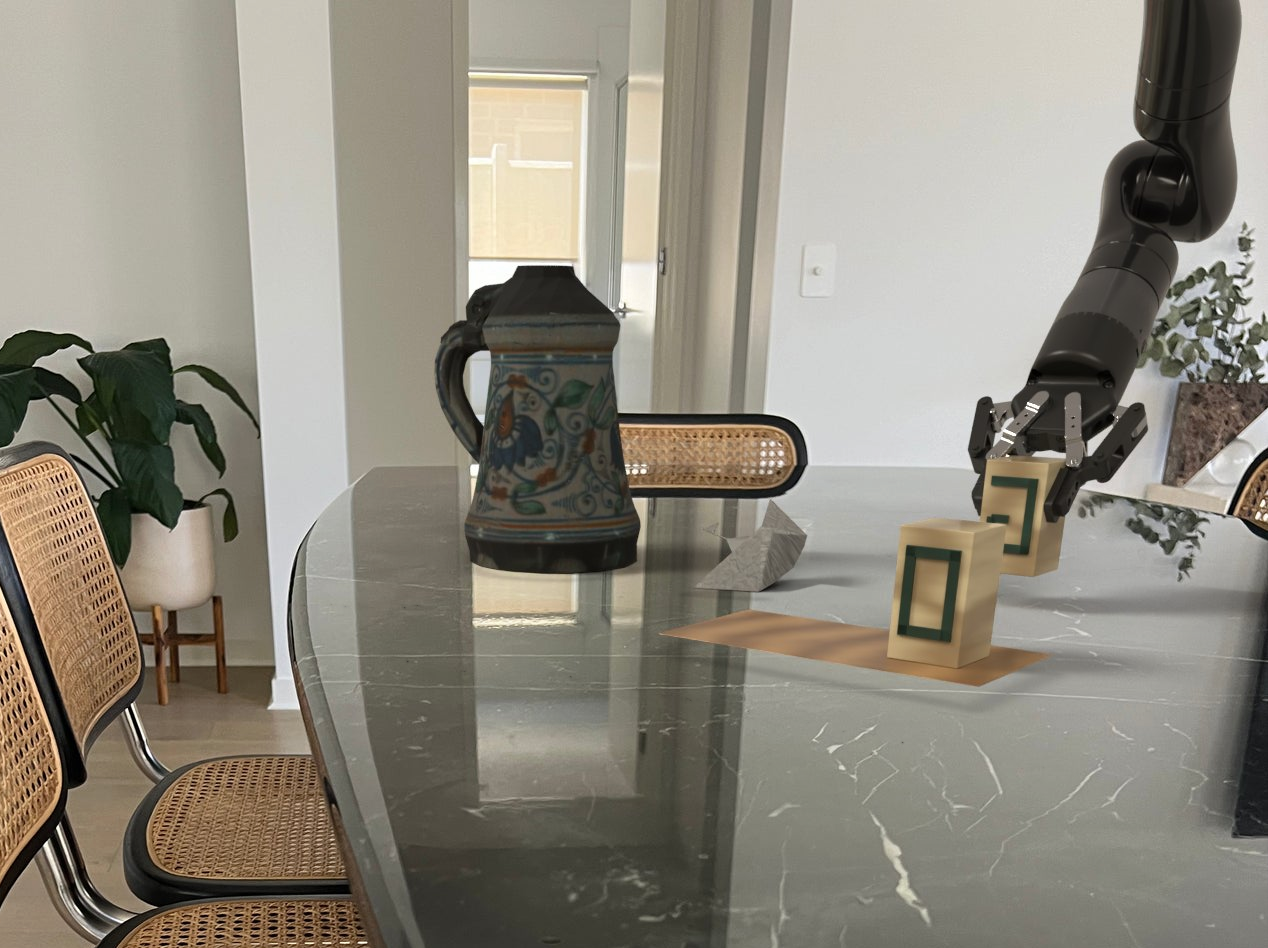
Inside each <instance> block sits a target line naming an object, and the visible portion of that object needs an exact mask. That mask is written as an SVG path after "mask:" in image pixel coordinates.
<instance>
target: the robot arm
mask: <svg viewBox="0 0 1268 948" xmlns="http://www.w3.org/2000/svg"><path fill="white" fill-rule="evenodd" d="M1242 16H1243V15H1242V6H1241V1H1240V0H1143V16H1142V30H1141V41H1140V47H1139V55H1138V64H1137V73H1136V79H1135V80H1136V81H1135V89H1134V97H1133V106H1132V120H1133V126H1134V129H1135V131H1136V132H1137V134H1138V135H1139V136H1140V138H1142V139H1139V140H1134V141H1132V142H1130V143H1128V144H1127V145H1126V146H1124V147H1123V148H1121V149H1120V150H1119V151H1118V152H1117V153H1116V154H1115V155H1114V156H1113V157H1112V159H1111V160H1110V162H1109V164H1108V166H1107V168H1106V170H1105V173H1104V177H1103V180H1102V186H1101V192H1100V201H1099V213H1098V224H1097V228H1096V232H1095V233H1096V234H1095V238H1094V241H1093V244H1092V247H1091V250H1090V252H1089V255H1088V257H1087V258H1086V261H1085V263H1084V265H1083V267H1082V269H1081V272H1080V274H1079V276H1078V278H1077V280H1076V282H1075V284H1074V286H1073V287H1072V289H1071V291H1070V292H1069V293H1068V294H1067V296H1066V298H1065V299H1064V300H1063V302H1062V305H1061V306H1060V308H1059V310H1058V312H1057V314H1056V316H1055V318H1054V320H1053V322H1052V324H1051V327H1050V329H1049V330H1048V333H1047V334H1046V337H1045V339H1044V341H1043V342H1042V345H1041V347H1040V348H1039V352H1038V353H1037V355H1036V357H1035V359H1034V361H1033V363H1032V365H1031V368H1030V370H1029V373H1028V376H1027V379H1026V382H1025V385H1024V386H1023V388H1022V389H1021V390H1020V391H1019V392H1018V393H1016V394H1015V395H1014V396H1013V397H1012V400H1009V401H1002V402H995V403H994V402H993V398H992V397H991V396H988V395H986V396H982V397H980V398H979V399H978V400H977V401H976V402H977V403H976V407H975V411H974V416H973V422H972V426H971V431H970V436H969V441H968V445H967V452H968V456H969V459H970V462H971V465H972V469H973V472H974V473H975V474H977V475H979V476H978V478H977V480H976V482H975V484H974V486H973V488H972V490H971V500H972V504H973V506H974V509H975V510H976V513H977V516H978V517H980V516H981V508H982V499H983V491H984V482H985V474H986V465H987V460H988V459H994V458H1000V457H1006V456H1012V455H1017V456H1034V455H1035V453H1037V452H1038V453H1040V452H1047V451H1052V452H1055V453H1058V454H1065V458H1066V467H1065V468H1060V470H1059V472H1058V474H1057V476H1056V479H1055V481H1054V483H1053V485H1052V487H1051V489H1050V491H1049V493H1048V496H1047V498H1046V500H1045V502H1044V505H1043V510H1044V514H1045V518H1046V521H1047V522H1048V523H1057V522H1058V520H1059V518H1060V517H1064V516H1065V517H1066V515H1067V514H1068V513H1069V512H1070V510H1071V509H1072V506H1073V504H1074V502H1075V500H1076V497H1077V495H1078V493H1079V491H1080V489H1081V487H1084V486H1085V485H1086V484H1087V483H1089V482H1090V481H1096V482H1097V483H1099V484H1106V483H1108V482H1109V481H1111V480H1112V478H1113V477H1114V476H1115V475H1116V474H1117V472H1118V471H1119V470H1120V468H1121V467H1122V465H1123V464H1124V463H1125V462H1126V461H1127V459H1128V457H1129V456H1130V455H1131V454H1132V453H1133V451H1134V450H1135V449H1136V448H1137V446H1138V445H1139V443H1141V441H1142V439H1143V438H1144V437H1145V436H1146V435H1147V434H1148V431H1149V425H1148V418H1147V412H1146V407H1145V404H1144V403H1143V402H1140V401H1138V402H1134V403H1132V404H1130V405H1129V406H1128V407H1127V406H1123V405H1119V404H1120V403H1121V401H1122V399H1123V397H1124V394H1125V392H1126V389H1127V387H1128V386H1129V383H1130V382H1131V379H1132V377H1133V375H1134V372H1135V370H1136V369H1137V366H1138V364H1139V361H1140V359H1141V357H1142V356H1144V354H1145V351H1146V349H1147V347H1148V343H1149V340H1150V337H1151V335H1152V331H1153V328H1154V324H1155V321H1156V318H1157V315H1158V313H1159V312H1160V309H1161V307H1162V305H1163V302H1164V300H1165V298H1166V296H1167V294H1168V293H1169V290H1170V288H1171V286H1172V284H1173V281H1174V279H1175V276H1176V273H1177V271H1178V267H1179V261H1180V257H1179V256H1180V255H1179V250H1178V247H1177V245H1176V243H1175V242H1177V243H1184V244H1197V243H1201V242H1204V241H1206V240H1209V239H1210V238H1211V237H1212V236H1214V235H1215V234H1216V233H1217V232H1219V230H1221V228H1222V227H1223V226H1224V225H1225V223H1226V222H1227V220H1228V218H1229V217H1230V215H1231V212H1232V210H1233V208H1234V204H1235V201H1236V197H1237V191H1238V180H1239V179H1238V177H1239V176H1238V175H1239V174H1238V161H1237V155H1236V148H1235V144H1234V137H1233V131H1232V123H1231V122H1232V121H1231V110H1230V109H1231V107H1230V105H1231V104H1230V103H1231V95H1232V88H1233V84H1234V78H1235V73H1236V67H1237V61H1238V56H1239V50H1240V45H1241V37H1242V29H1243V21H1242V20H1243V17H1242ZM1012 418H1013V420H1012V421H1011V422H1010V423H1009V424H1008V425H1007V426H1006V427H1005V429H1004V430H1003V432H1002V428H1003V427H1004V425H1005V424H1006V422H1007V421H1008V420H1009V419H1012ZM1111 426H1112V428H1111V430H1110V431H1108V432H1107V435H1106V436H1105V437H1104V438H1103V439H1102V441H1101V442H1100V444H1099V445H1098V446H1097V447H1096V448H1095V450H1094V451H1093V452H1092V454H1091V455H1089V441H1091V440H1092V439H1094V438H1095V437H1096V436H1098V435H1099V434H1101V433H1102V432H1104V430H1106V429H1108V428H1109V427H1111ZM1001 432H1002V436H1001V438H1000V439H999V440H998V442H996V444H994V443H995V438H996V434H1000V433H1001Z"/></svg>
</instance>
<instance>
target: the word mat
mask: <svg viewBox="0 0 1268 948" xmlns="http://www.w3.org/2000/svg"><path fill="white" fill-rule="evenodd" d="M889 633H890V629H883V628H877V627H870V626H863V625H857V624H849V623H844V622H837V621H829V620H823V619H816V618H810V617H803V616H796V615H790V614H784V613H783V614H782V613H775V612H768V611H761V610H755V609H744V610H740V611H737V612H733V613H729V614H726V615H722V616H719V617H715V618H711V619H707V620H703V621H699V622H695V623H692V624H688V625H685V626H681V627H677V628H673V629H669V630H665V631H661V632H659V633H658V634H659V635H662V636H663V635H664V636H670V637H677V638H682V639H687V640H694V641H700V642H706V643H712V644H718V645H724V646H730V647H736V648H737V647H738V648H742V649H749V650H753V651H761V652H767V653H773V654H778V655H784V656H790V657H797V658H802V659H808V660H815V661H820V662H825V663H826V662H827V663H832V664H839V665H846V666H851V667H855V668H862V669H868V670H875V671H881V672H886V673H893V674H899V675H906V676H910V677H911V676H912V677H916V678H923V679H929V680H934V681H940V682H946V683H947V682H948V683H953V684H959V685H965V686H971V687H978V688H980V687H982V686H984V685H987V684H990V683H991V682H993V681H996V680H998V679H1001V678H1003V677H1005V676H1008V675H1010V674H1012V673H1014V672H1017V671H1020V670H1022V669H1024V668H1027V667H1029V666H1032V665H1034V664H1036V663H1038V662H1041V661H1043V660H1045V659H1047V658H1050V657H1052V656H1053V653H1046V652H1040V651H1032V650H1026V649H1019V648H1012V647H1006V646H1005V647H1004V646H998V645H992V644H991V646H990V653H989V656H988V657H985V658H983V659H980V660H978V661H975V662H973V663H970V664H968V665H965V666H963V667H960V668H958V669H955V668H949V667H942V666H936V665H930V664H924V663H917V662H911V661H905V660H899V659H892V658H887V652H888V643H889Z"/></svg>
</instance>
